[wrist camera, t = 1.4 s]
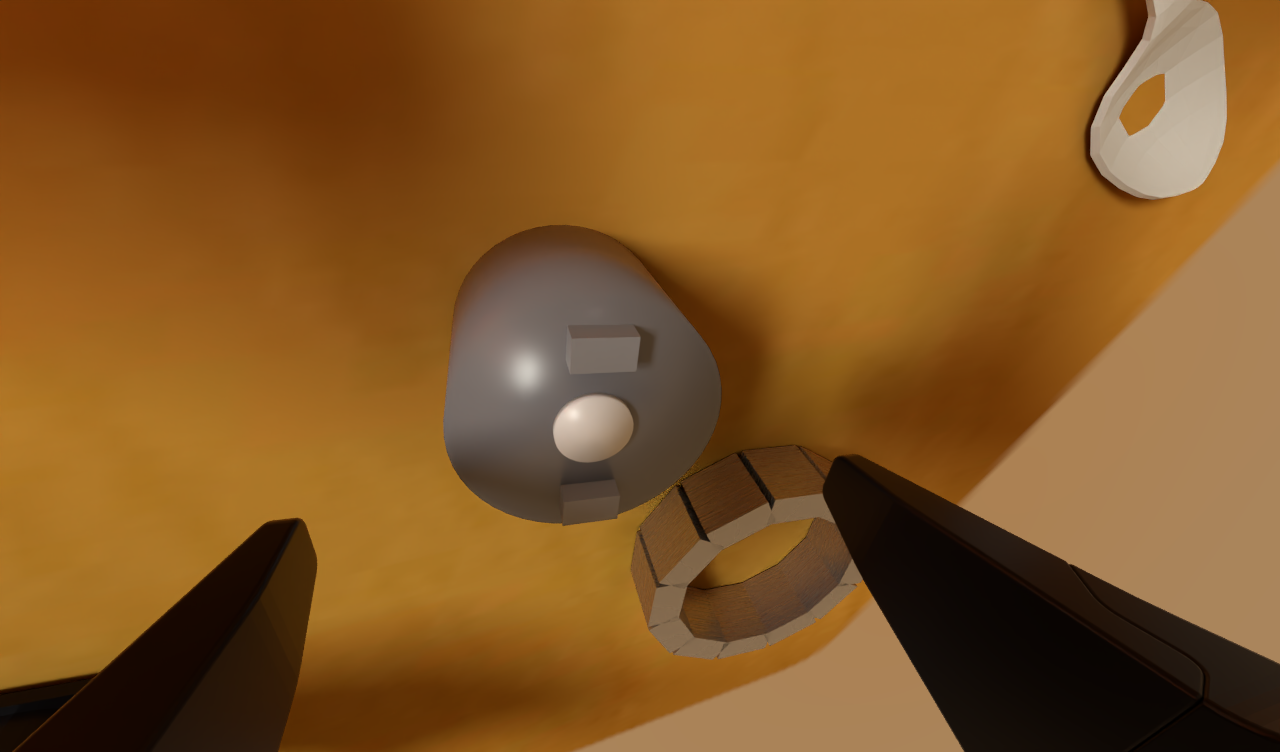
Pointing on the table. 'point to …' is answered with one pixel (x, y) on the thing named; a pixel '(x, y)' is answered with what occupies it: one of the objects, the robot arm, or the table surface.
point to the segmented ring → (719, 517)
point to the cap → (573, 380)
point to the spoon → (1167, 105)
